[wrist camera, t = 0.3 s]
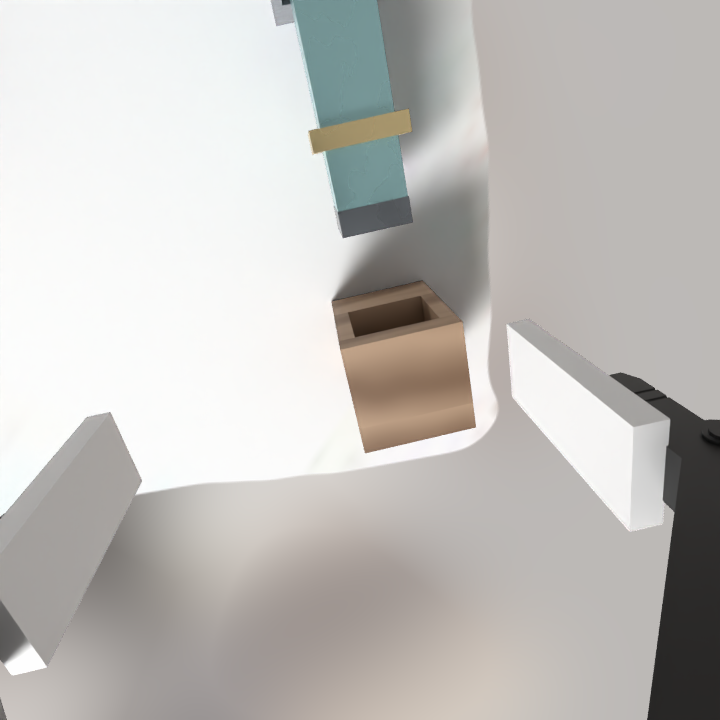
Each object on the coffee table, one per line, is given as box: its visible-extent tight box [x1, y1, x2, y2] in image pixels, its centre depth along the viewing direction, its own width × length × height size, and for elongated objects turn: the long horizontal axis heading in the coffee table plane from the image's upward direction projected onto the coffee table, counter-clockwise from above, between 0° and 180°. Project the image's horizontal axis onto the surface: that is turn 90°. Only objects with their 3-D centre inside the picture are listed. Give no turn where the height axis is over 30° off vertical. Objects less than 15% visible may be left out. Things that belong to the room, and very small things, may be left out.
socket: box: [332, 281, 476, 453], centre depth 38 cm, size 8×8×12 cm
